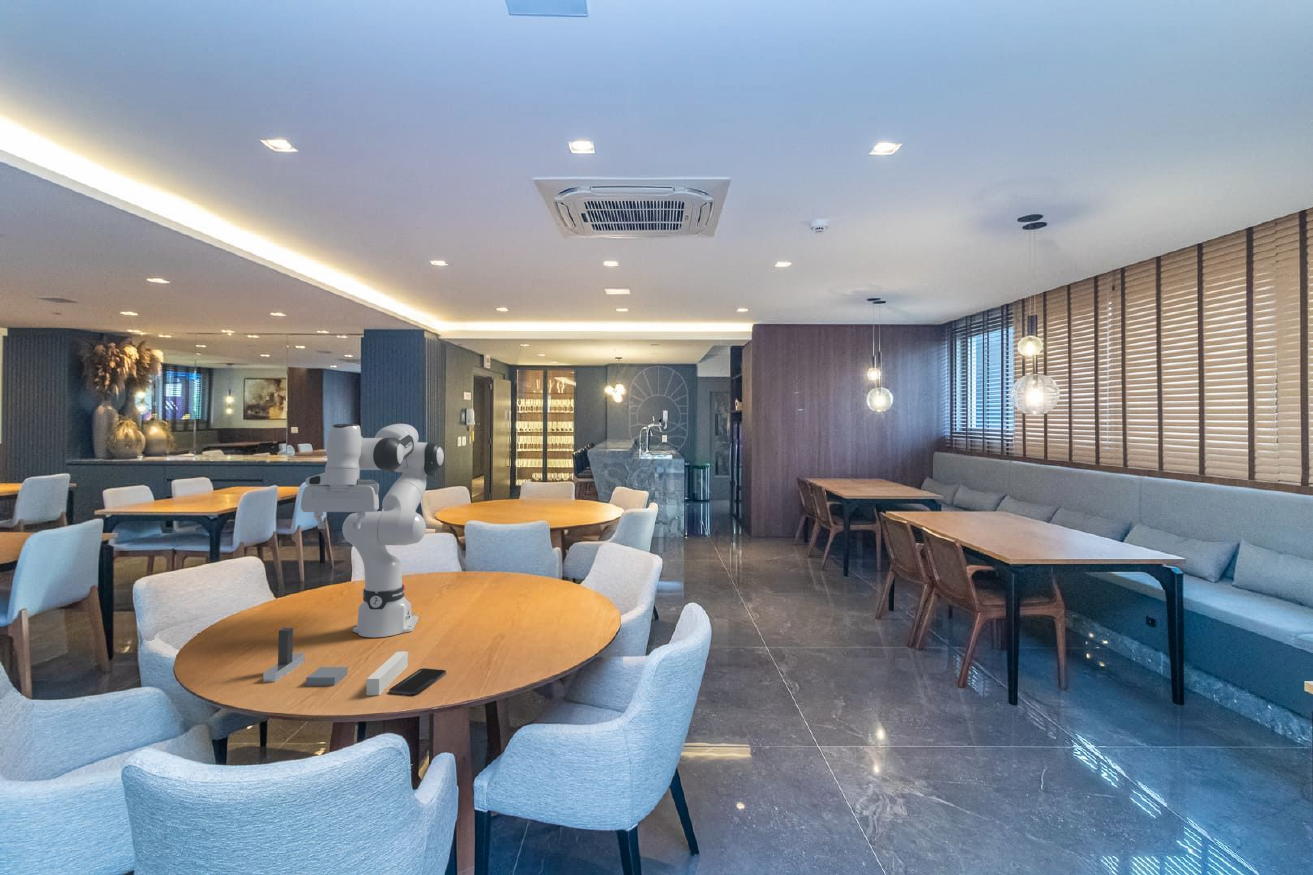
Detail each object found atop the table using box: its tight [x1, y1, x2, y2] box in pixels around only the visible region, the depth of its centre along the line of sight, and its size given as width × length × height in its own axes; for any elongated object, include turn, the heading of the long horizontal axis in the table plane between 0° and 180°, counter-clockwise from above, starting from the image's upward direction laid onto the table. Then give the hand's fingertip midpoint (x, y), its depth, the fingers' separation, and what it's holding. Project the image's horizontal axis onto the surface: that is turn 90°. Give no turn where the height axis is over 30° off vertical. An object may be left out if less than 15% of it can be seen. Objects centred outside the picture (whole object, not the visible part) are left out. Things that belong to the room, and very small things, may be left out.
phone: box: [388, 667, 447, 697], centre depth 154 cm, size 8×1×15 cm
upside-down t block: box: [262, 627, 306, 683], centre depth 160 cm, size 14×3×12 cm, turn 3°
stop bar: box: [366, 651, 409, 696], centre depth 155 cm, size 19×3×4 cm, turn 3°
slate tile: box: [305, 666, 349, 687], centre depth 154 cm, size 7×7×2 cm
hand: (339, 528), depth 168 cm, fingers open, 8 cm apart
